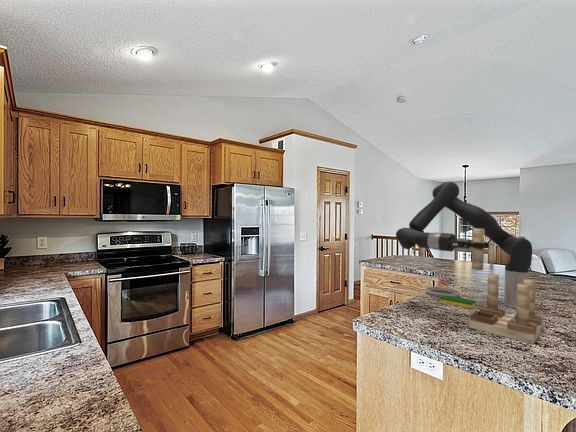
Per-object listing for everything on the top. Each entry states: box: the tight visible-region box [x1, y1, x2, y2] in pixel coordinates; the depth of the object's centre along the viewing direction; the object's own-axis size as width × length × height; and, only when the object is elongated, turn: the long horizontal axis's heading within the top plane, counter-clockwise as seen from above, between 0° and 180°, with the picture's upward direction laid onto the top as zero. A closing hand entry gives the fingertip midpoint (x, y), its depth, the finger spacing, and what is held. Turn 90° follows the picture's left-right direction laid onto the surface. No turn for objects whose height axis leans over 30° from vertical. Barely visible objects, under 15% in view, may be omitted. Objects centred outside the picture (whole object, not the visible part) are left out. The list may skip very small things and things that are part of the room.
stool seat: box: [468, 273, 544, 345], centre depth 122 cm, size 20×20×19 cm
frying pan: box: [424, 284, 460, 298], centre depth 177 cm, size 17×3×28 cm
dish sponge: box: [440, 296, 476, 309], centre depth 155 cm, size 7×14×2 cm, turn 47°
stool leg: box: [471, 228, 485, 271], centre depth 124 cm, size 4×4×16 cm
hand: (486, 245), depth 122 cm, fingers closed on stool leg, 3 cm apart
